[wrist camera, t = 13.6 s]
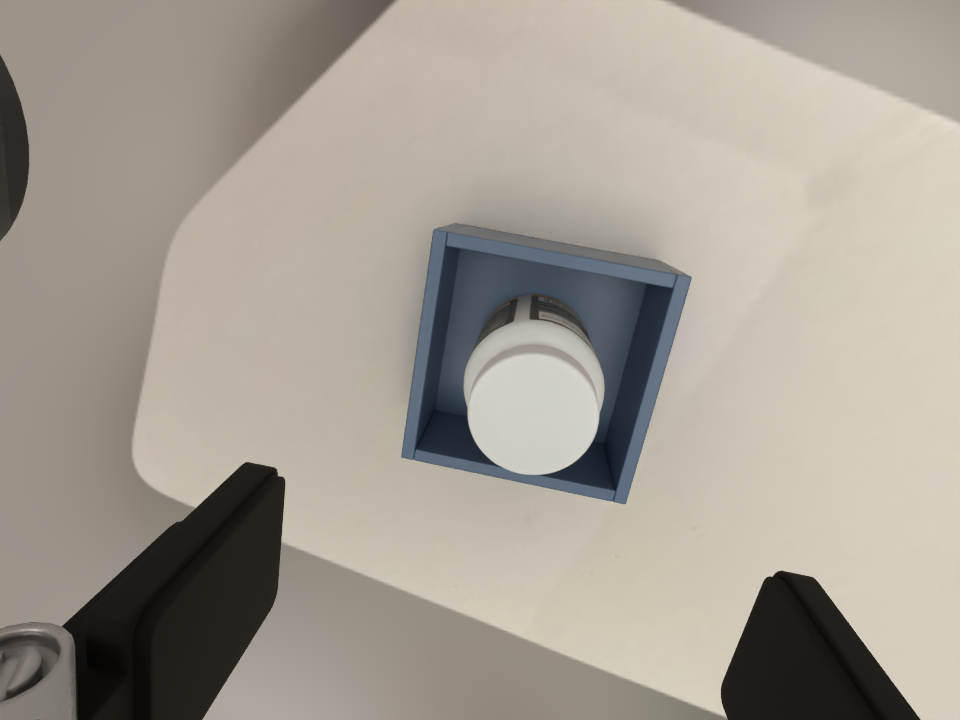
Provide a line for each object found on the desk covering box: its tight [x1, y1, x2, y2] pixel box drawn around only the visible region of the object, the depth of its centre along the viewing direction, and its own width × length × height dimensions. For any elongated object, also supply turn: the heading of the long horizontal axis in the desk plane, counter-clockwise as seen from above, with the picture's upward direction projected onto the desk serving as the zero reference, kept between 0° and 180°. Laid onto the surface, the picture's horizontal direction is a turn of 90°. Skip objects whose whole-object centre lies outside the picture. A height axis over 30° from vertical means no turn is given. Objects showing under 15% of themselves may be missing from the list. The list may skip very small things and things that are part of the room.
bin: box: [401, 223, 692, 504], centre depth 26 cm, size 11×11×6 cm
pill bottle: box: [464, 294, 605, 475], centre depth 24 cm, size 6×6×10 cm
